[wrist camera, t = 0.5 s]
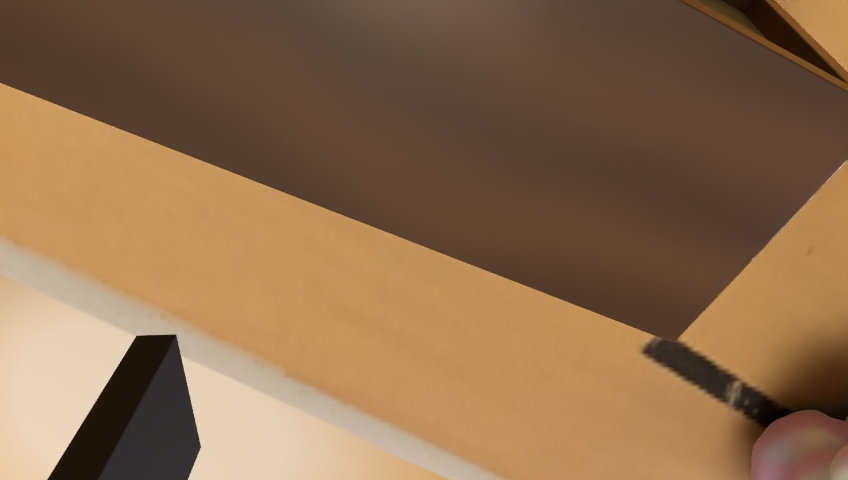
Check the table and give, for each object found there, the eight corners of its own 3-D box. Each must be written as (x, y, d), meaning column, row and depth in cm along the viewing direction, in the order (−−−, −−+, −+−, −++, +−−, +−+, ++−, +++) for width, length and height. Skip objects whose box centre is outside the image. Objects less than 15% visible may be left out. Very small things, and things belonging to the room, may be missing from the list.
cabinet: (154, -358, 28) (47, -348, 19) (771, -4, 36) (891, 115, 28) (74, -45, 34) (-34, 70, 26) (615, 195, 43) (673, 343, 34)
